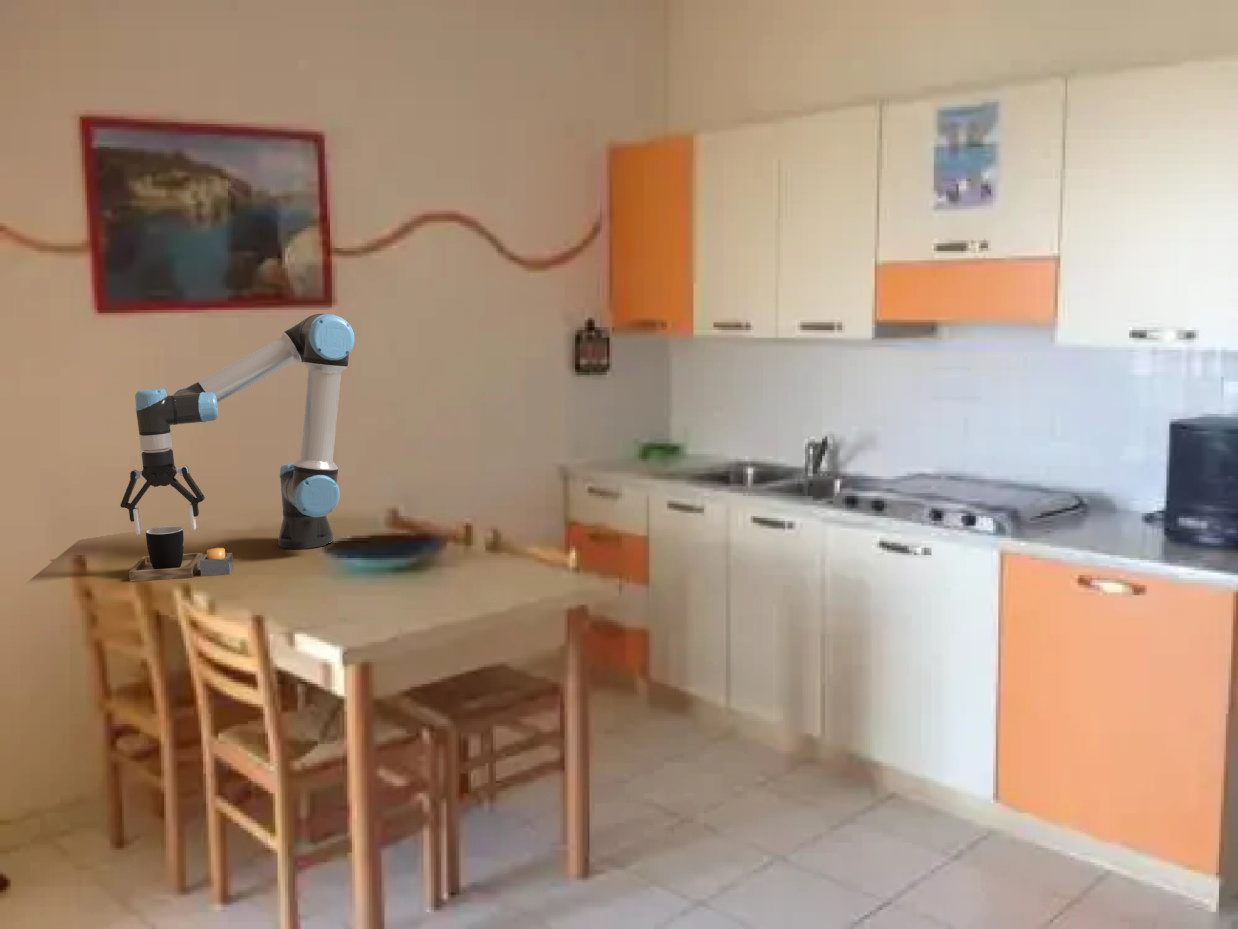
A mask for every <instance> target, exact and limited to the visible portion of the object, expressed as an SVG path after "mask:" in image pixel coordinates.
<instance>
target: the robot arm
mask: <svg viewBox="0 0 1238 929" xmlns="http://www.w3.org/2000/svg"><path fill="white" fill-rule="evenodd" d="M354 346H355V333H354V330H353V328H352V326H351V325H350V323H349V322H348V321H347V320H345V319H344V318H343V317H341V316H339V315H336V314H332V313H331V314H330V313H329V314H327V313H317V314H316V313H314V314H313V315H309V316H307V317H306V318H305V319H302V321H299V323H297V324H295V325H294V326H292V327H291V328H287V330H285V331H283V332H282V333H281V336H280V337H279V338H277V339H276V340H274V341H272V342H270V343H268V344H266V345H265V346H263V347H261V348H259V349H257V350H255V351H254V352H252V353H250V354H248V355H246V356H244V357H241V358H240V359H238V360H236V361H234V362H233V363H231V364H229V365H227V366H225V367H223V368H222V369H219V370H218V371H216V372H214V373H212V374H209V375H207V376H206V377H204V378H202V379H199V380H198V381H197V382H195V383H193V384H192V385H189V386H187V387H184V388H180V389H178V390H176V391H175V392H174V393H173V394H172V395H171V394H169V395H168V394H167V391H166V389H164V388H147V389H141V390H138V391H137V392H136V393H135V396H134V398H135V412H136V413H135V414H136V420H137V427H138V435H139V444H140V450H141V451H142V452H141V462H142V470H137V469H133V470H132V471H130V474H129V477H130V478H129V482H128V485H127V488H126V489H125V492H124V495H123V497H122V499H121V502H120V504H119V505H120V508H122V509H123V508H124V509H127V510H128V514H129V520H130V523H131V522H134V529H135V535H137V536H140V534H142V527H141V519H140V511H139V507H136V505H137V504H138V503H139V502H140V501H141V499H142V498H143V496H144V495H145V494H146V493H147V491H148V489H149V488H150V487H154V488H156V487H167V486H169V485H170V486H171V487H173V488H174V489H175V490H176V492H178V493H180V495H182V496H183V497H184V498H185V499H186V500H187V501H189V505H188V510H189V511H188V512H189V519H190V520H189V521H190V527H191V528H190V529H191V531H195V530H196V529H197V524H196V521H197V520H196V517H198V516H199V514H200V512H199V511H200V509H199V503H201V502H203V501H205V498H206V497H205V495H204V494H203V492H202V490H201V488H199V486H198V485H197V483H196V482H195V480H194V479H193V478H192V476H191V474H190V471H189V467H188V466H187V465H184V466H182V467H176V465H175V458H174V450H173V449H172V447H173V442H172V433H171V432H172V431H171V426H174V425H175V426H176V425H183V424H186V425H187V424H195V423H197V424H198V423H207V422H214V421H216V420H217V419H218V418H219V406H218V404H219V403H221V402H222V401H225V400H227V399H229V398H230V397H232V396H234V395H236V394H239V393H240V392H241V391H243V390H245V389H247V388H250V387H251V386H253V385H255V384H257V383H258V382H261V381H263V380H265V379H267V378H268V377H270V376H272V375H274V374H275V373H278V372H280V371H281V370H283V369H285V368H287V367H289V366H291V365H293V364H294V363H297V364H302V363H303V364H304V366H305V367H306V368H307V371H308V372H307V385H306V394H305V406H304V415H303V426H302V428H303V429H302V438H301V450H300V457H299V459H298V460H297V461H296V462H295V463H294V462H293V463H288V464H286V463H285V464H283V465H281V467H280V468H279V479H280V487H281V488H280V490H281V504H282V506H281V508H282V520H281V525H280V528H279V534H278V537H277V538H278V539H277V540H278V541H277V542H278V546H279V547H280V548H283V549H288V550H289V549H290V550H296V549H297V550H302V549H303V550H304V549H306V550H307V549H313V548H320V547H324V546H327V545H326V544H328V543H329V542H331V541H333V540H334V541H335V538H334V532H333V530H332V527H331V524H330V521H329V519H328V517H327V515H329V514H331V513H332V512H333V511H334V510H335V509H336V508H337V506H338V504H339V502H340V500H341V499H340V497H341V492H340V491H341V490H340V487H339V485H338V484H337V483H338V476H339V475H338V474H339V473H338V472H339V467H338V465H337V464H336V463H335V462H334V454H335V445H336V434H337V424H338V422H337V421H338V412H339V402H340V392H341V391H340V390H341V378H342V373H343V372H344V371H345V370H346V369H348V367H349V360H350V359H349V358H350V357H349V356H350V354H351V352H352V350H353V349H354ZM177 473H178V474H179V475H180V476H182V477H183V479H184V481H185V482H186V484H187V485H188V487H189V488H190V490H191V491H192V493H193V494H192V493H191V492H190V491H189V490H188V489H187V488H186V486H185V487H184V485H182V484H181V483H180V481H179V480H178V479H177V478H176V475H177ZM141 476H142V478H144V480H145V483H143V486H142V487H141V488H140V490H138V492H137V494H136V495H135V496H134V498H133V499H132V501H131V502H129V501H130V499H131V496H132V494H133V491H134V489H135V486H136V484H137V481H138V480H139V479H140V478H141ZM328 545H329V544H328Z"/></svg>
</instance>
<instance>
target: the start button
mask: <svg viewBox="0 0 1238 929" xmlns="http://www.w3.org/2000/svg"><path fill="white" fill-rule="evenodd" d="M225 553H226V549H225V548H224V547H214V548H208V549H207V550H206V554H207V559H223V558H225Z"/></svg>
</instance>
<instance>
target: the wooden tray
mask: <svg viewBox="0 0 1238 929" xmlns="http://www.w3.org/2000/svg"><path fill="white" fill-rule="evenodd" d="M203 556H204V554H203V552H196V553H183V559H182V564H181V567H180V568H169V569H153V567H152V564H151V561H150V557H149V555H147V556H145V555H143V556H142V557H141V558H140V559H139V560H138V562H137V563H135V564H134V566H133V567H132V568H131V569H130V570H129V571H128V577H129V581H130V580H135V581H134V582H143V581H144V582H145V581H159V580H160V581H161V580H174V579H175V580H177V579H191V578H193V577H194V576H195V574H196V573H197V572H198V570H199V569H200V560H201V558H202V557H203ZM196 571H197V572H196Z"/></svg>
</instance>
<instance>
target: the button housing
mask: <svg viewBox="0 0 1238 929" xmlns="http://www.w3.org/2000/svg"><path fill="white" fill-rule="evenodd" d="M233 556H234V555H233V552H225V558H223V559H207V553H206V554H203V557H202V558H201V560H200V567H199V569H200V577H209V576H225V575H227V576H228V575H231V573H232V572H233V570H234V557H233Z"/></svg>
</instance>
